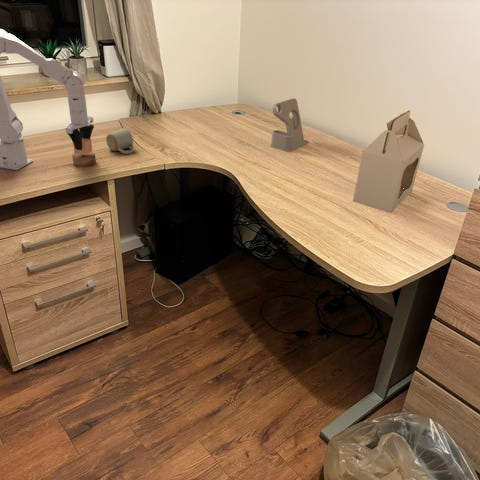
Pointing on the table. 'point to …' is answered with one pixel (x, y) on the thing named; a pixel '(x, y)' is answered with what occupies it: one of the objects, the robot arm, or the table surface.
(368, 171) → the gable box
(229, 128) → the table surface
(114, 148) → the ceramic mug
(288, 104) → the phone holder
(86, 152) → the cube
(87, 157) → the pedestal
